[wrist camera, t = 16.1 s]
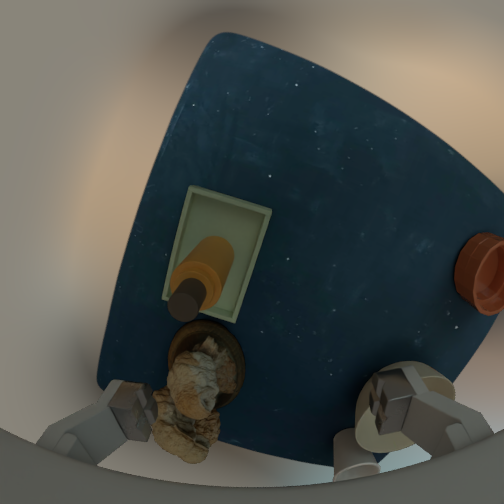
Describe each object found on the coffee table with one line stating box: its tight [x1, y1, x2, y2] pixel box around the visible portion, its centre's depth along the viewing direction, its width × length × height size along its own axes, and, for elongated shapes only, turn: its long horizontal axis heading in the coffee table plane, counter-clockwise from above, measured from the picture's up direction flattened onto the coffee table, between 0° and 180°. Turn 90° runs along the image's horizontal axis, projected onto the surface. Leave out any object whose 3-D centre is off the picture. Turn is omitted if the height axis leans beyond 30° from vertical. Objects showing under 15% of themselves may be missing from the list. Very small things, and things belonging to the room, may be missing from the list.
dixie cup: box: [333, 428, 380, 482], centre depth 42 cm, size 8×8×10 cm
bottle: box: [168, 236, 234, 322], centre depth 31 cm, size 5×5×16 cm
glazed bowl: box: [454, 232, 504, 316], centre depth 34 cm, size 11×11×6 cm
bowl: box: [355, 361, 455, 453], centre depth 38 cm, size 16×16×10 cm
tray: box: [162, 185, 272, 323], centre depth 38 cm, size 15×10×2 cm
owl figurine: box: [151, 319, 245, 464], centre depth 36 cm, size 18×12×17 cm, turn 178°
